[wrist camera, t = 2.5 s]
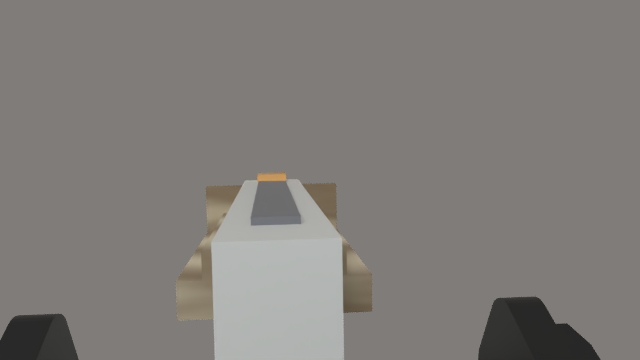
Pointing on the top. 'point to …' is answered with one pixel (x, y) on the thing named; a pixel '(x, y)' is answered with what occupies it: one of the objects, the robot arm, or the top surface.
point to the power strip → (277, 276)
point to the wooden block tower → (197, 274)
